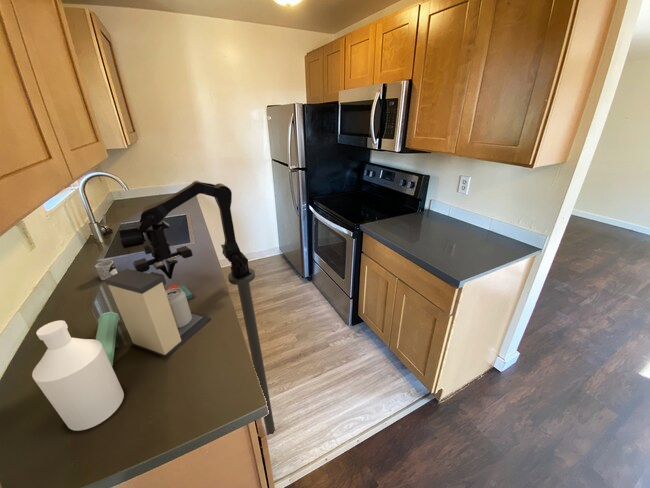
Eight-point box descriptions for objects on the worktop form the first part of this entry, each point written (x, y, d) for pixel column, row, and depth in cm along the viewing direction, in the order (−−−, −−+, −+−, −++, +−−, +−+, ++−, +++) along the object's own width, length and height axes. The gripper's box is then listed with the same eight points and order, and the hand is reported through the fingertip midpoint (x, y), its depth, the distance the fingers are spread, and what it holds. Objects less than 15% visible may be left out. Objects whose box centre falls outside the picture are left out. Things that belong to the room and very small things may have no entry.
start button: (177, 287, 110) (176, 284, 109) (180, 291, 108) (179, 287, 107) (167, 291, 108) (166, 287, 107) (170, 295, 105) (169, 291, 105)
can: (193, 313, 98) (184, 284, 93) (192, 326, 91) (183, 296, 86) (169, 318, 95) (159, 289, 90) (167, 332, 89) (156, 302, 84)
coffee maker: (179, 310, 101) (161, 251, 91) (211, 320, 96) (195, 258, 86) (132, 345, 86) (103, 279, 76) (166, 358, 81) (140, 289, 71)
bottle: (68, 443, 60) (10, 359, 50) (62, 408, 68) (10, 329, 57) (130, 405, 68) (91, 325, 58) (118, 377, 75) (82, 303, 65)
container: (102, 358, 74) (110, 308, 93) (80, 373, 72) (93, 319, 92) (119, 368, 77) (124, 318, 97) (98, 383, 76) (107, 329, 95)
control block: (185, 288, 115) (183, 281, 114) (193, 297, 109) (191, 290, 108) (159, 298, 109) (156, 291, 108) (165, 308, 103) (163, 301, 102)
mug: (115, 278, 125) (110, 265, 122) (98, 281, 123) (92, 268, 120) (122, 268, 134) (117, 256, 131) (106, 271, 132) (101, 258, 129)
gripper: (178, 228, 110) (188, 263, 116) (123, 242, 99) (137, 280, 105) (188, 236, 102) (197, 272, 109) (130, 252, 91) (144, 291, 98)
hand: (170, 278), depth 105 cm, fingers closed
